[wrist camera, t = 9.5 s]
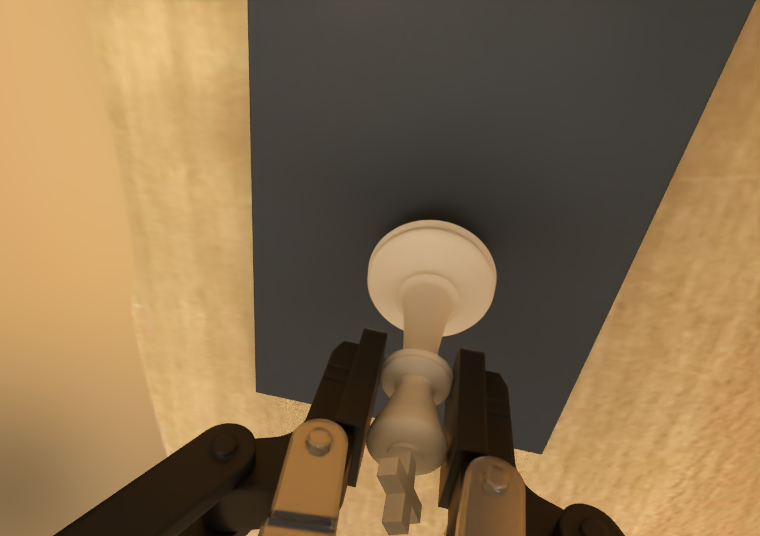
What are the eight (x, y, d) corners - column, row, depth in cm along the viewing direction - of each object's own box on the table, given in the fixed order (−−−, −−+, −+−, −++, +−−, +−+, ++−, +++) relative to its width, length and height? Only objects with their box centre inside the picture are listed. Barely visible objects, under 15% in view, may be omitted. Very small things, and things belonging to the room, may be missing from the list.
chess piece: (391, 337, 20) (332, 592, 12) (350, 237, 18) (240, 459, 9) (508, 316, 19) (540, 593, 10) (478, 204, 16) (485, 433, 8)
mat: (251, -94, 15) (244, -97, 15) (759, -26, 14) (768, -26, 14) (259, 386, 27) (255, 392, 26) (540, 447, 26) (542, 454, 25)
